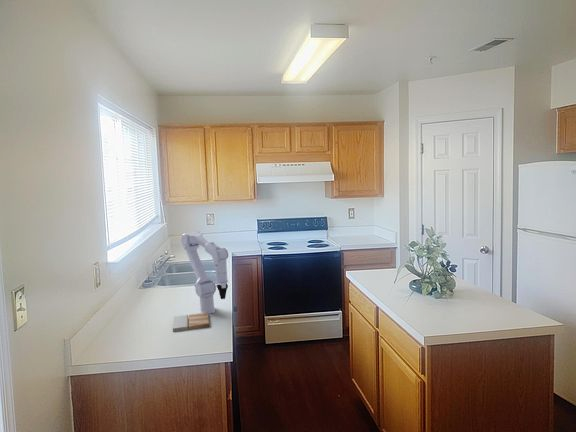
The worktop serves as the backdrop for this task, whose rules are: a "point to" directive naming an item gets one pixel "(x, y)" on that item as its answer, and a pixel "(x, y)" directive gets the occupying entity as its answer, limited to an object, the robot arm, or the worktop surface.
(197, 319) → the tan flat block
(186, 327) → the floor board
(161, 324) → the worktop surface
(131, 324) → the worktop surface
